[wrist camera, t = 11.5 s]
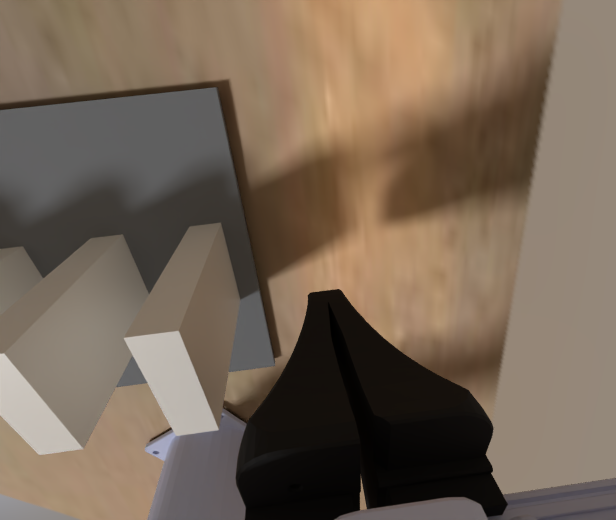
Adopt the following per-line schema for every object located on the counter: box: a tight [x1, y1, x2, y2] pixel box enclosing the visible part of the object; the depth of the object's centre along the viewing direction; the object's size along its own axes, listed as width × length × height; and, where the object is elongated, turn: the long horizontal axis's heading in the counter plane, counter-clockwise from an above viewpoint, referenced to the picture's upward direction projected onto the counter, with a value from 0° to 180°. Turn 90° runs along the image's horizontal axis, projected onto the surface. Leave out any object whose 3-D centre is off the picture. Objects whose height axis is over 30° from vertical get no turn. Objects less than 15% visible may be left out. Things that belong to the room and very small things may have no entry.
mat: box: [0, 87, 275, 387], centre depth 17 cm, size 24×17×1 cm
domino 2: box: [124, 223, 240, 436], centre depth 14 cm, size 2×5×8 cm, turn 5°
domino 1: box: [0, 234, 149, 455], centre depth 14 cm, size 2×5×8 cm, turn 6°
